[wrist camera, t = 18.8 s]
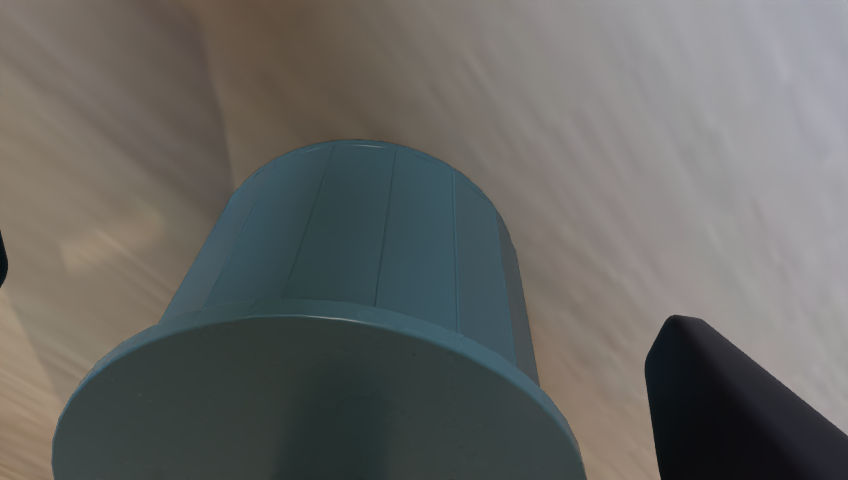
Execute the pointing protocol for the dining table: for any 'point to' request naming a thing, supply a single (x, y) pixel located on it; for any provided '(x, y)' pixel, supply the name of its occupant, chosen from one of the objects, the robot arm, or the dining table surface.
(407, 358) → the tin lid
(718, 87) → the dining table surface
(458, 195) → the tin
